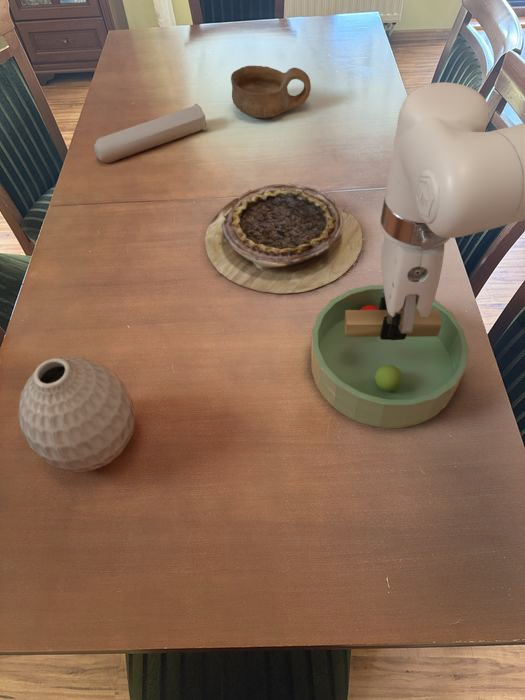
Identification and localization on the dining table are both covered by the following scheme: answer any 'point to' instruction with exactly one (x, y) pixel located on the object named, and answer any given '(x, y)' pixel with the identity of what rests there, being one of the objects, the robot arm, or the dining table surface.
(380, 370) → the grape
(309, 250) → the pie
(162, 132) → the tube
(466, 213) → the robot arm
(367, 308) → the tomato
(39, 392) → the vase
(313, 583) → the dining table surface
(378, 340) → the mixing bowl
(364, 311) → the stick
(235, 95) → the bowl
